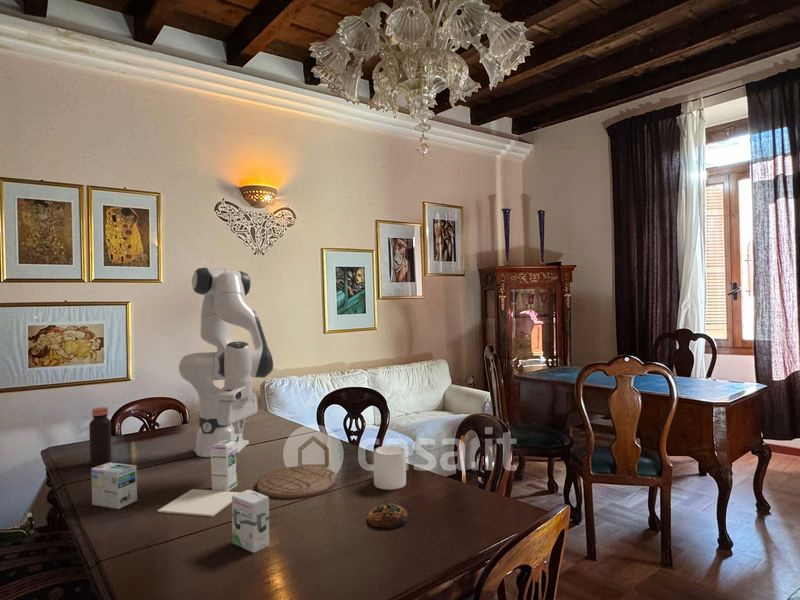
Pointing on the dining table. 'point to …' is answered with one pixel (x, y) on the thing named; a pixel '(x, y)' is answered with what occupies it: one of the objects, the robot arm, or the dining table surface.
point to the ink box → (250, 520)
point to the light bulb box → (114, 485)
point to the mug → (389, 467)
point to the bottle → (100, 437)
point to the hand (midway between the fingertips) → (239, 433)
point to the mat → (199, 502)
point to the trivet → (296, 482)
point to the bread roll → (388, 516)
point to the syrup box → (224, 465)
